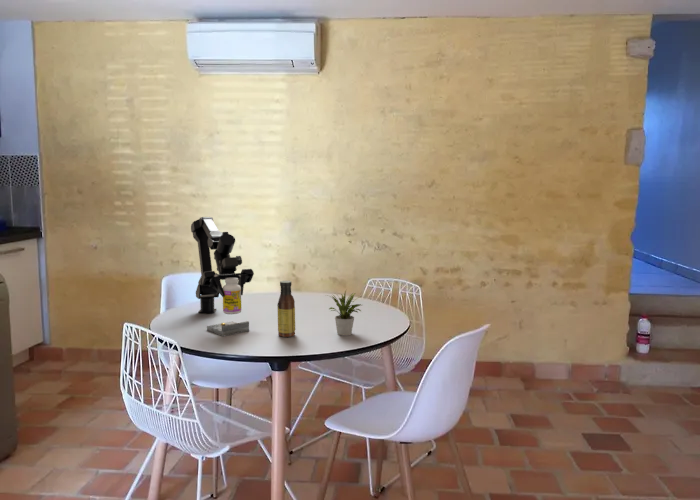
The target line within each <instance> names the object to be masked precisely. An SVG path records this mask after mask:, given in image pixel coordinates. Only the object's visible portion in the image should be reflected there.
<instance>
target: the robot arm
mask: <svg viewBox="0 0 700 500" xmlns="http://www.w3.org/2000/svg"><path fill="white" fill-rule="evenodd" d="M190 232H191V233H192V237H193V239H194V240H195V241H196V242H197V249H198V257H199V267H200V273H201V276H200V278H199V280H198V284H197V287H196V290H195V297H196V298H197V299H198V300H200V301H199V302H200V304H199V305H200V306H199V307H200V309H199V310H198V314H214V313H215V312H216V311H217V308H215V298H220V296H221V298H223V297H224V291H223V286H222V282H221V281H225V279H226V278H238V285H240V287H241V296H243V295H244V288H245V287H244V286H245V285H246V283H250V282H252V280H253V277H254V275H255V273H254V269H252V268H242V269H241V271H240V272H238V273H236V271H237V269H238V268H237V267H238V266H241V265H242V264H243V258H242V255H236V256H235V257H233V256H231V255H230V254H231V253H232V252H233V249H234V246H235V244H236V237H235V236H233V235H232V234H231V233H230V234H229V232H228V231H223V232H222V231H220V229H218V227H217V225H216V224H215V222H214V218H213V217H211V216H202V217H201V216H200V217H199V218H198V219H196V220H194V221H192V223H191V225H190ZM211 250H213V251H214V250H215V251H214V252H213V259H214V260H215V263H216V271H217V272H218V273H217V272H216V271H215V270H213V267H212V259H211V258H212V257H211Z"/></svg>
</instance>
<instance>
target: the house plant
mask: <svg viewBox="0 0 700 500" xmlns="http://www.w3.org/2000/svg"><path fill="white" fill-rule="evenodd" d="M346 294H347V289H346V290H345V291H344V293H343V294H342V293H341V297H340V296H339V295H337V297H338V298H337V297H336V296H335V295H334V294H332V295H331V296H330V298H331V299H332V300H333V301H334V303H335V304H336V306H337V307H338V310H337V309H336V308H335V307H332V306H331V307H329V308H328V310H330V312H334V311H335V312H337V313H338V314H337V315H336V316H335V317H334V319H335V326H336V333H337V335H338V336H351V335H352V333H353V332H352V331H353V327H354V321H355V316H353V315H351V314H353V313H354V312H355V313H357V314H359V312H360V313H363V312H362V309H359V308H357V307H361V306H362V304H361V303H360V304H358V303H357V304H352V303H354V302H355V301H356V299H355V298H354V297H355V295H356V292H353V293H351V294H350V295H349V296H348V297H347V296H346ZM326 296H328V297H329V295H327V294H326ZM346 297H347V299H346ZM361 297H363V296H358V297H357V299H359V298H361ZM351 302H352V303H351ZM358 311H359V312H358Z"/></svg>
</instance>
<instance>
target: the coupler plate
mask: <svg viewBox="0 0 700 500" xmlns="http://www.w3.org/2000/svg"><path fill="white" fill-rule="evenodd" d="M206 331H208V332H211V333H214V334H216V335H219V336H221V337H226V336H231V335H236V334H241V333H245V332H249V331H250V321H249V320H246V321H241V322H235V321H227V322H221V323H217V324H213V325H207V326H206Z"/></svg>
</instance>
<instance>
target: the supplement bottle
mask: <svg viewBox="0 0 700 500" xmlns="http://www.w3.org/2000/svg"><path fill="white" fill-rule="evenodd" d="M224 282H225V285H223V286H222V288H223V291H224V297H222V312H223V313H224V314H225V315H237V314H240V313H241V312H242V295H241V287H240V285H238V278H226V279H225V280H224Z"/></svg>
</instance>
